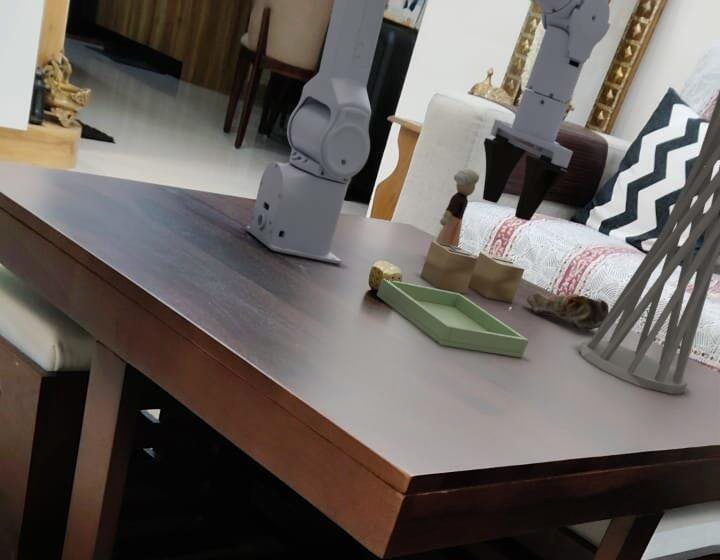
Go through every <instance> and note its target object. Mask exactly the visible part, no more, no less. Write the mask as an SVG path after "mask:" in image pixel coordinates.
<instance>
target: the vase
mask: <svg viewBox="0 0 720 560" xmlns="http://www.w3.org/2000/svg"><path fill="white" fill-rule="evenodd" d="M719 159H720V90H719V91H718V94H717V97H716V100H715V103H714V106H713V109H712V112H711V116H710V119H709V122H708V125H707V129H706V132H705V135H704V137H703V141H702V143H701V147H700V151H699V153H698V156H697V158H696V160H695V162H694V164H693V165H692V166H693V167H692V169H691V170H690V173H689V175H688V176H687V179H686V181H685V182H684V185H683V187H682V189H681V191H680V193H679V195H678V197H677V199H676V202H675V203H674V205H673V207H672V210H671V211H670V214H669V216H668V218H667V220H666V221H665V224H664V227H663V228H662V230H661V232H660V233H659V235H658V237H657V238H656V240H655V241H654V243H653V244H652V246H651V247H650V249H649V250H648V252H647V253H646V255H645V257H644V258H643V260H642V261H641V262H640V263H639V265H638V267H637V268H636V270H635V272H634V273H633V275H632V276H631V278H630V279H629V281H628V282H627V284H626V285H625V287H624V288H623V290H622V292H621V293H620V294H619V295H618V297H617V299H616V301H615V302H614V304H613V305H612V307H611V308H610V310H609V311H608V314H607V316H606V317H605V319H604V320H603V322H602V323H601V325H600V327H599V328H597V330H596V331H595V333H594V334H593V335H592V337H591V338H590V339H587V340H585V341H584V340H583V341H582V342H581V344H580V346H579V348H578V352H579V353H580V354H581V357H583V358H584V359H585V360H586V361H588V362H590V363H591V364H592V365H594V366H596V367H597V368H599V369H600V370H602V371H604V372H606V373H608V374H610V375H612V376H614V377H616V378H619V379H621V380H623V381H625V382H629V383H631V384H634V385H636V386H639V387H642V388H644V389H648V390H653V391H657V392H661V393H665V394H669V395H679V394H680V395H681V394H682V393H683V392H684V390H685V389H686V387H687V385H688V383H687V381H686V380H685V378H684V375H685V372H686V368H687V365H688V362H689V358H690V354H691V351H692V347H693V344H694V341H695V337H696V334H697V330H698V327H699V323H700V320H701V316H702V313H703V309H704V305H705V303H706V299H707V295H708V292H709V288H710V285H711V282H712V278H713V275H714V271H715V267H716V264H717V261H718V258H719V256H720V216H719V213H720V165H719V167H718V170H717V172H716V173H715V175H714V176H713V172H714V169H715V166H716V164H717V162H718V161H719ZM696 195H697V198H696V200H695V201H694V202H693V200H694V197H695V196H696ZM711 197H712V198H711ZM710 198H711V204H710V207H709V208H708V209H707V210H706V212H705V214H704V211H705V206H706V203H707V202H708V201H709V199H710ZM690 224H691V225H690ZM689 226H690V228H689ZM688 228H689V233H688V236H687V238H686V239H685V241H684V242H683V243H682V244H681V246H680V247H679V248H678V245H679V243H680V240H681V237H682V235H683V234H684V232H685V231H686V230H687V229H688ZM703 233H704V236H703V241H702V245H701V247H700V248H699V250H698V251H697V253H696V255H695V251H696V246H697V243H698V242H697V241H698V240H699V238H700V237H701V235H702V234H703ZM677 249H678V250H677ZM676 250H677V251H676ZM694 255H695V257H694ZM663 260H664V262H663V265H662V269H661V271H660V274H659V276H658V277H657V278H656V280H654V283H653V284H652V285H651V287H650V288H649V289H648V290H647V292H646V294H644V296H643V297H642V295H643V293H644V290H645V289H646V287H647V285H648V283H649V280H650V279H651V276H652V274H653V273H654V271H655V270H656V269H657V267H658V266H659V265H660V264H661V262H662V261H663ZM681 263H682V264H681ZM680 264H681V268H680V272H679V276H678V281H677V285H676V288H675V290H674V291H673V293H672V295H671V296H670V298H669V300H668V301H667V303H666V305H665V306H664V308H663V310H662V312H661V313H660V315H659V317H658V318H657V320H656V322H655V324H654V325H653V326H652V324H653V321H654V318H655V316H656V312H657V309H658V306H659V303H660V301H661V297H662V294H663V292H664V288H665V284H666V283H667V282H668V280H669V279H670V278H671V276H672V275H673V274H674V272H675V271H676V269H677V268H678V267H679V265H680ZM694 275H695V278H694V283H693V288H692V291H691V293H690V295H689V298H688V300H687V303H686V304H685V307H684V310H683V312H682V314H681V311H682V307H683V303H684V298H685V294H686V288H687V286H688V285H689V283H690V282H691V280H692V279H693V277H694ZM641 298H642V299H641ZM640 299H641V300H640ZM648 307H649V308H648ZM647 309H648V312H647V315H646V319H645V322H644V325H643V328H642V330H641V334H640V337H639V340H638V343H637V345H636V349H635V350H633V349H631V348H629V347H626V346H624V345H621V344H622V343H623V341H624V340H625V339H626V337H627V336H628V334H629V333H630V332H631V330H632V329H633V327H634V326H635V325H636V323H637V322H638V321H639V320H640V318H641V317H642V315H643V314H644V313H645V311H646V310H647ZM680 315H681V317H680ZM668 317H669V320H668V325H667V328H666V333H665V337H664V341H663V346H662V349H661V355H660V360H657V359H654V358H652V357H650V356H648V355H646V354H647V352H648V350H649V349H650V347H651V345H652V344H653V342H654V341H655V339H656V337H657V335H658V333H659V332H660V330H661V329H662V327H663V326H664V324H665V322H666V321H667V319H668ZM679 318H680V319H679ZM618 319H619V320H618ZM617 320H618V321H617ZM616 321H617V324H616V326H615V328H614V330H613V332H612V334H611V337H610V338H609V340H608V341H607V340H606V341H604V340H602V339H603V338H604V337H605V336H606V334H607V333H608V332H609V330H610V328H612V327H613V325H614V324H615V322H616ZM651 327H652V328H651ZM679 347H680V348H679ZM678 350H679V353H678V357H677V363H676V368H675V370H674V369H672V368H671V366H672V363H673V361H674V358H675V356H676V354H677V352H678Z"/></svg>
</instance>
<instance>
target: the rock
mask: <svg viewBox="0 0 720 560" xmlns="http://www.w3.org/2000/svg"><path fill="white" fill-rule="evenodd" d="M526 302H527V304H528V305H530V306H531V308H532V310H533V312H534V313H535V314H537V315H539V316H544V315H549V316H550V315H551V316H553V317H555V318H561V319H564V320H566V321H567V322H568V323H570V324H571V325H572V326H573V328H574V329H576V330H579V331H580V330H590V331H591V330H594V329H598V328H599V327H600V325H601V323H602V322H603V320H604V319H605V317H606V316H607V314H608V313H609V311H610V310H609V309H610V307H609V304H608V303H607V302H606V301H605V300H602V298H594V299H593V298H590V297H589V296H585V295H579V294H577V293H572V294H566V295H565V294H563V295H556V296H550V295H546V294H543V293H539V292H537V293H534V294H531V295H528V296H527V298H526Z"/></svg>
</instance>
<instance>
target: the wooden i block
mask: <svg viewBox="0 0 720 560" xmlns="http://www.w3.org/2000/svg"><path fill="white" fill-rule="evenodd" d="M477 259H478V260H477V262H476V265H475V268H474V271H473V274H472V276H471V279H470V282H469V285H468V287H469V288H470V289H472V290H474V291H475V292H477V293H478V294H480V295H481V296H483V297H484V298H486V299H490V300H495V301H501V302H506V303H511V304H512V303H513V301H514V298H515V296H516V294H517V291H518V288H519V285H520V283H521V280H522V277H523V276H524V273H525V270H526V269H525V268H523V267H522V266H521V265H519V264H517V263H515V262H513V261H511V259H508V258H506V257H503V256H499V255H495V254H490V253H486V252H482V251H480V252H479V254H478V257H477Z"/></svg>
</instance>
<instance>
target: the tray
mask: <svg viewBox="0 0 720 560" xmlns="http://www.w3.org/2000/svg"><path fill="white" fill-rule="evenodd" d="M386 279H387V278H384V279H382V278H381V280H380V284H379V286H378V290H377V292H376V296H377V297H378V298H379V299H381V300H382V301H383V302H385V303H386V304H387V305H388V306H389V307H391V308H392V309H394V310H395V311H396V312H398V313H399V314H400V315H402V317H404V318H405V319H407V320H408V321H409V322H411V323H412V324H413V325H415V327H417V328H418V329H419V330H421V331H422V332H424V333H425V334H426V335H428V336H429V337H430V338H431V339H433V340H434V341H435V342H437V343H438V344H440V345H441V346H446V347H452V348H458V349H465V350H471V351H477V352H483V353H488V354H489V353H490V354H495V355H503V356H509V357H514V358H523V356H524V353H525V352H526V348H527V346H528V344H529V340H530V339H528V338H526V337H525V336H523V335H522V334H520V333H518V331H516V330H514V329H513V328H511V327H510V326H508V325H507V324H506V323H504V322H502V321H501V320H499V319H498V318H497V317H495V316H494V315H492V314H491V313H490V312H488V311H486V310H485V309H484V308H482V307H480V306H479V305H477V303H475V302H474V301H472V300H470V299H469V298H467V297H466V296H464V295H463V294H462V293H460V292H455V291H450V290H445V289H439V288H433V287H430V286H423V285H418V284H415V283H408V282H404V281H399V280H394V281H390V280H391V279H389V281H388V280H386Z"/></svg>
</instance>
